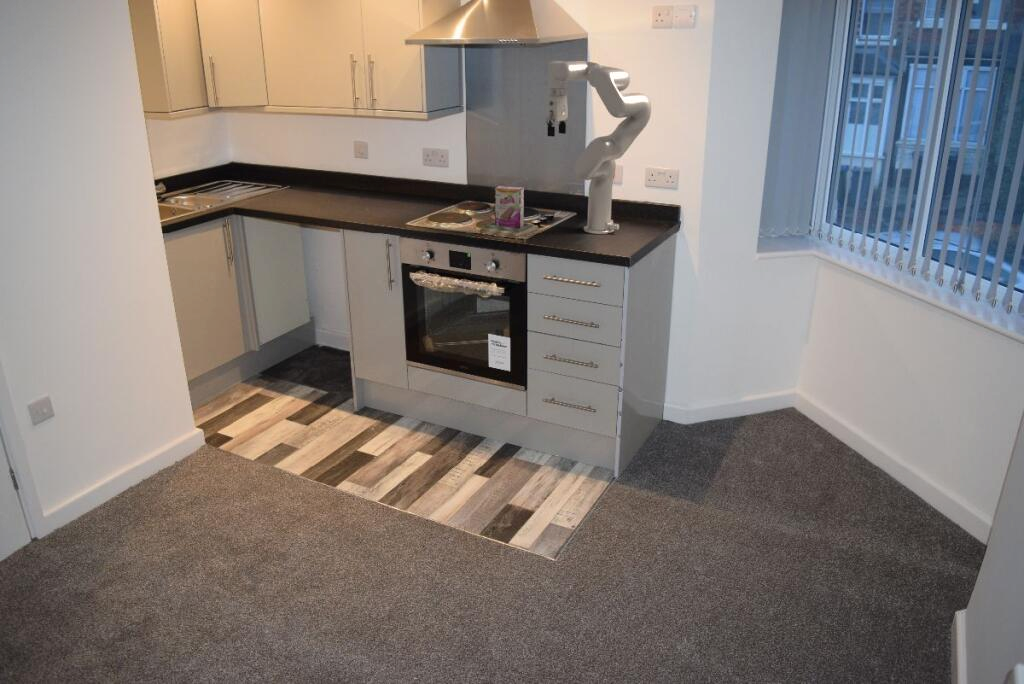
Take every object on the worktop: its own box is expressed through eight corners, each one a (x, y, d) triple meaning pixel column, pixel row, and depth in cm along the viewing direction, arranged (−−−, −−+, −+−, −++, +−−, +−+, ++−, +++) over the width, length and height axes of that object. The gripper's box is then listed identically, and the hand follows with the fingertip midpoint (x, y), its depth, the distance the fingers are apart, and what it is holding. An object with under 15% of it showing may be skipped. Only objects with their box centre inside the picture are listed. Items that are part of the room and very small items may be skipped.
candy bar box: (494, 227, 337) (494, 188, 331) (498, 224, 342) (497, 185, 336) (520, 229, 334) (520, 189, 328) (524, 226, 339) (524, 187, 333)
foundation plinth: (538, 230, 341) (538, 222, 340) (516, 239, 328) (516, 231, 327) (501, 224, 350) (501, 217, 349) (479, 233, 337) (479, 226, 335)
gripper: (555, 94, 330) (554, 138, 336) (575, 91, 344) (574, 132, 350) (539, 93, 334) (538, 136, 340) (559, 90, 347) (558, 131, 354)
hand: (556, 134), depth 345 cm, fingers open, 9 cm apart
